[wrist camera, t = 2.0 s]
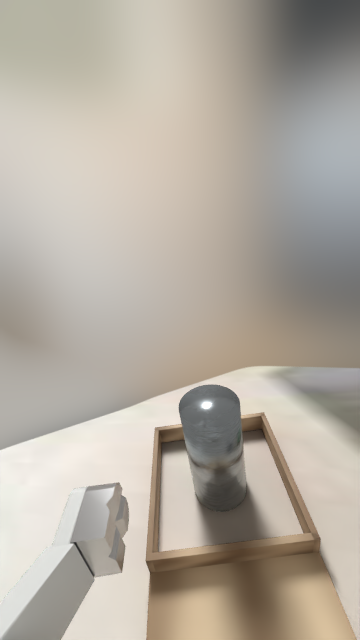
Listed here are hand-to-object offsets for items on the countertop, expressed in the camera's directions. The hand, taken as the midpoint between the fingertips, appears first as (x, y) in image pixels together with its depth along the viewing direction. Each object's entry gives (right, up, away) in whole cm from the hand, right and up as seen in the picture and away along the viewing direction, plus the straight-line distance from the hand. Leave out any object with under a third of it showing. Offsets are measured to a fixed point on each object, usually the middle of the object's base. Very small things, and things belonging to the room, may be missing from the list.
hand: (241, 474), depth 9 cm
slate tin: (+2, -12, +20) cm, 23 cm away
